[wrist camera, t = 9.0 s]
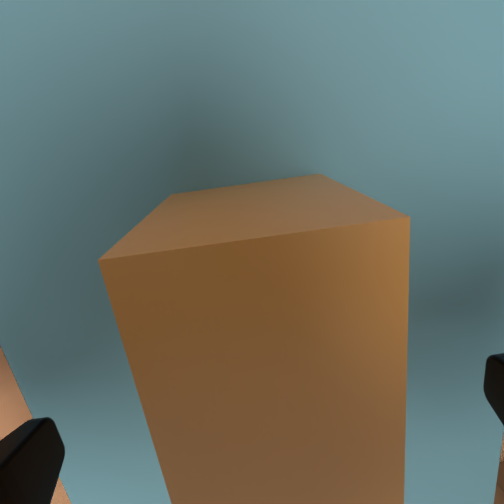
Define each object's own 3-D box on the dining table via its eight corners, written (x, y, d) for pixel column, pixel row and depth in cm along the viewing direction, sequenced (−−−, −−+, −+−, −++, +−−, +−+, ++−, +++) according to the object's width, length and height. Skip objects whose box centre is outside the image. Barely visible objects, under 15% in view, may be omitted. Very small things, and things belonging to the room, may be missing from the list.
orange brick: (335, 409, 12) (401, 597, 7) (219, 425, 12) (207, 623, 7) (320, 173, 9) (410, 217, 4) (171, 194, 9) (98, 260, 4)
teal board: (468, 472, 15) (492, 507, 14) (110, 521, 15) (97, 561, 14) (527, -111, 8) (586, -161, 7) (-107, -15, 9) (-175, -44, 7)
